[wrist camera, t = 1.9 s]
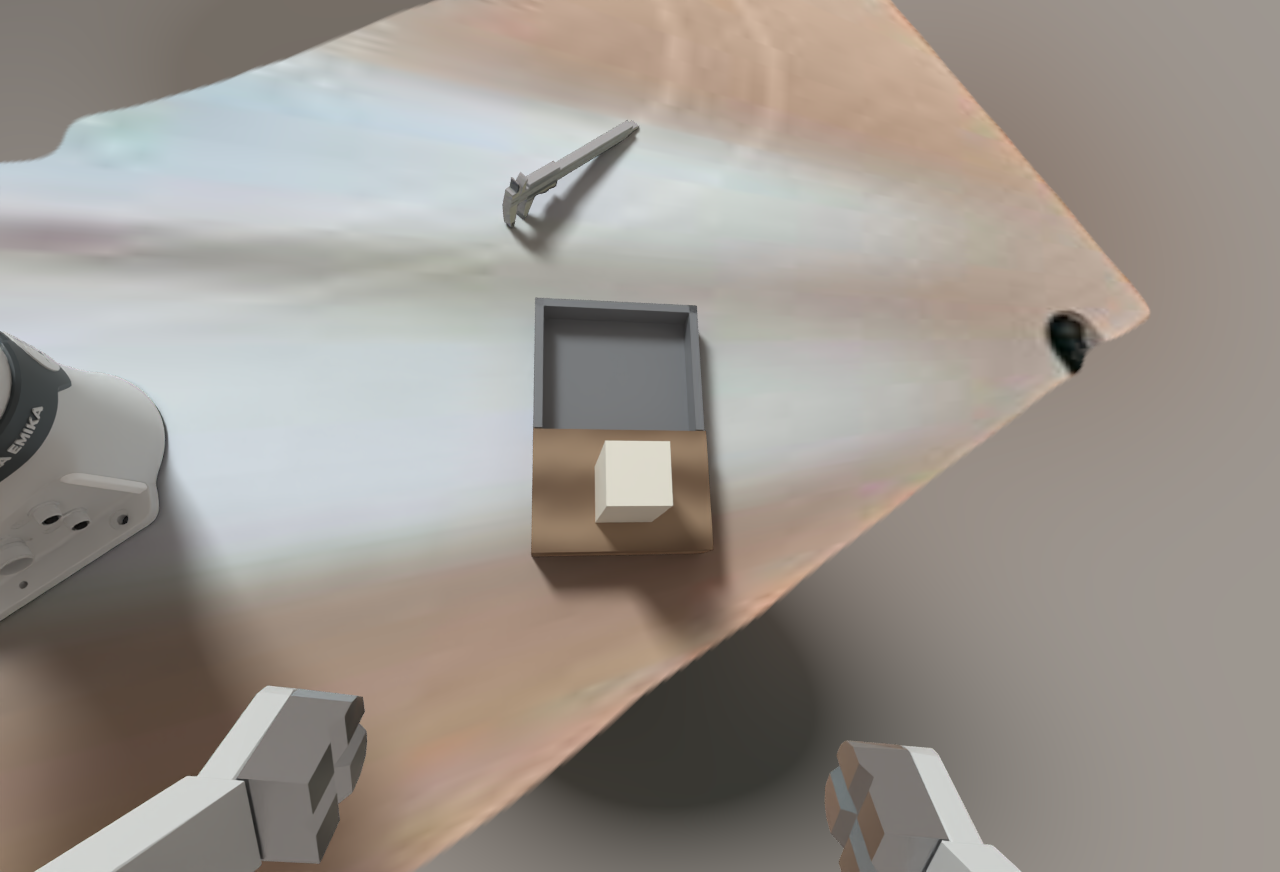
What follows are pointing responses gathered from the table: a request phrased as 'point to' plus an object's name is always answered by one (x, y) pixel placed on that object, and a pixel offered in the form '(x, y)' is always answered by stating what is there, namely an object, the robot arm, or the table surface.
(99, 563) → the table surface
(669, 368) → the bin
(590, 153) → the caliper
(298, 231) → the table surface
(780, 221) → the table surface
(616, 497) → the block
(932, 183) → the table surface
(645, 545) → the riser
